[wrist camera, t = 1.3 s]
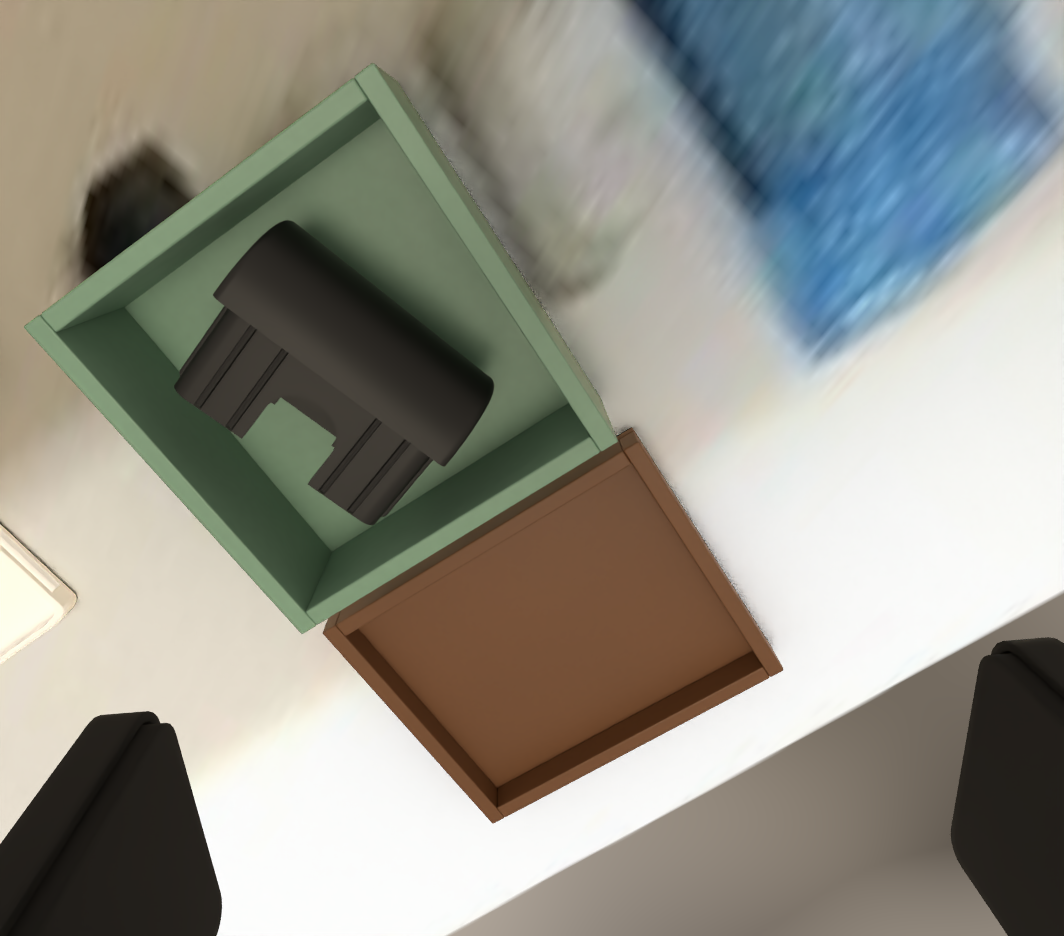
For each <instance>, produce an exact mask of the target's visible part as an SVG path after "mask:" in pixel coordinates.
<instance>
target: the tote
mask: <svg viewBox="0 0 1064 936" xmlns="http://www.w3.org/2000/svg"><path fill="white" fill-rule="evenodd" d="M285 220H289V221H293V222H295V223H296V224H298V225H299V226H300V227H301V228H303V229H304V230H305V231H306V232H308V233H309V234H310V235H311V236H313V237H314V238H315V239H316V240H318V241H319V242H320V243H322V244H323V245H324V246H325V247H327V248H328V249H329V250H330V251H332V252H333V253H334V254H335V255H337V256H338V257H339V258H340V259H342V260H343V261H344V262H345V263H347V264H348V265H349V266H351V267H352V268H353V269H354V270H356V271H357V272H358V273H359V274H361V275H362V276H363V277H364V278H366V279H367V280H368V281H369V282H371V283H372V284H373V285H375V286H376V287H377V288H378V289H380V290H381V291H382V292H383V293H385V294H386V295H387V296H388V297H390V298H391V299H392V300H393V301H395V302H396V303H397V304H398V305H400V306H401V307H402V308H404V309H405V310H406V311H407V312H409V313H410V314H411V315H412V316H414V317H415V318H416V319H417V320H419V321H420V322H421V323H422V324H424V325H425V326H426V327H427V328H429V329H430V330H431V331H433V332H434V333H435V334H436V335H438V336H439V337H440V338H441V339H443V340H444V341H445V342H446V343H448V344H449V345H450V346H451V347H453V348H454V349H455V350H456V351H458V352H459V353H460V354H462V355H463V356H464V357H465V358H467V359H468V360H469V361H470V362H472V363H473V364H474V365H475V366H477V367H478V368H479V369H480V370H482V371H483V372H484V373H485V374H487V375H488V376H489V377H491V378H492V380H493V382H494V391H493V395H492V397H491V400H490V402H489V404H488V406H487V408H486V410H485V411H484V413H483V415H482V416H481V418H480V420H479V421H478V423H477V424H476V426H475V427H474V429H473V430H472V432H471V433H470V435H469V436H468V438H467V439H466V440H465V442H464V443H463V445H462V446H461V447H460V448H459V450H458V451H457V452H456V454H455V455H454V456H453V457H452V459H451V460H450V461H449V462H448V464H447V465H446V466H445V467H444V466H441V465H439V464H438V463H436V462H435V461H434V460H433V461H432V462H431V463H430V464H429V466H428V467H427V468H426V469H425V470H424V472H423V473H422V474H421V475H420V476H419V477H418V479H417V480H416V481H415V482H414V483H413V485H412V486H411V487H410V488H409V489H408V491H407V492H406V493H405V494H404V495H403V497H402V498H401V499H400V500H399V501H398V502H397V504H396V505H395V506H394V507H393V508H392V510H391V511H390V512H389V513H388V514H387V515H386V516H385V517H380V519H379V520H378V521H377V522H376V523H375V525H367V524H365V523H363V522H361V521H360V520H358V519H357V518H355V517H354V516H352V515H351V514H349V513H348V512H347V511H345V510H344V509H342V508H341V507H339V506H338V505H337V504H335V503H334V502H332V501H331V500H329V499H328V498H326V497H325V496H324V495H322V494H321V493H319V492H318V491H316V490H315V489H313V488H312V487H311V486H309V485H308V483H309V481H310V479H311V478H312V477H313V476H314V474H315V473H316V472H317V471H318V469H319V468H320V467H321V466H322V464H323V463H324V462H325V461H326V459H327V458H328V457H329V455H330V454H331V453H332V451H333V449H334V447H333V446H331V445H332V444H333V442H334V441H335V440H336V437H335V436H334V435H332V434H331V433H330V432H328V431H327V430H325V429H324V428H323V427H321V426H320V425H318V424H317V423H316V422H314V421H313V420H312V419H310V418H309V417H307V416H306V415H305V414H303V413H302V412H300V411H299V410H298V409H296V408H295V407H293V406H292V405H291V404H289V403H288V402H287V401H285V400H284V399H282V398H280V399H279V400H278V401H277V403H276V404H275V405H274V404H273V403H270V404H268V405H267V407H266V408H265V409H264V411H263V412H262V413H261V415H260V416H259V417H258V419H257V420H256V421H255V423H254V424H253V425H252V427H251V428H250V429H249V431H248V432H247V433H246V435H245V436H244V437H243V438H242V439H241V438H240V437H238V436H237V435H236V434H234V433H233V432H231V431H230V430H228V429H227V428H225V427H224V426H223V425H221V424H220V423H218V422H217V421H215V420H214V419H213V418H211V417H210V416H208V415H207V414H205V413H204V412H202V411H201V410H200V409H198V408H197V407H195V406H194V405H192V404H191V403H189V402H188V401H187V400H185V399H184V398H182V397H181V396H180V395H179V394H178V393H177V392H176V390H175V388H174V385H175V383H176V382H177V381H178V379H179V378H180V373H179V372H180V369H181V368H182V366H183V365H184V364H185V362H186V361H187V359H188V358H189V356H190V355H191V353H192V352H193V351H194V349H195V348H196V346H197V345H198V343H199V342H200V340H201V339H202V338H203V336H204V335H205V333H206V332H207V330H208V329H209V327H210V326H211V325H212V323H213V322H214V320H215V319H216V317H217V316H218V315H219V313H220V312H221V310H222V309H223V307H224V305H223V304H222V303H220V302H219V301H218V300H216V299H215V298H214V296H213V293H214V292H215V291H216V289H217V288H218V286H219V285H220V284H221V282H222V281H223V280H224V278H225V277H226V276H227V274H228V273H229V272H230V271H231V269H232V268H233V267H234V266H235V264H236V263H237V262H238V261H239V260H240V259H241V257H242V256H243V255H244V254H245V253H246V252H247V251H248V250H249V248H250V247H251V246H252V245H253V244H254V243H255V242H256V241H257V240H258V239H259V238H260V237H261V236H262V235H263V234H265V233H266V232H267V231H268V230H269V229H270V228H272V227H273V226H275V225H276V224H278V223H280V222H282V221H285ZM24 328H25V329H26V330H27V331H28V333H29V334H30V335H31V336H32V337H33V338H34V339H35V340H36V341H37V342H38V344H39V345H40V346H41V347H42V348H43V349H44V350H45V351H46V352H47V354H48V355H49V356H50V357H51V358H52V359H53V360H54V361H55V362H56V363H57V365H58V366H59V367H60V368H61V369H62V370H63V371H64V372H65V373H66V374H67V376H68V377H69V378H70V379H71V380H72V381H73V382H74V383H75V384H76V386H77V387H78V388H79V389H80V390H81V391H82V392H83V393H84V394H85V395H86V397H87V398H88V399H89V400H90V401H91V402H92V403H93V404H94V405H95V407H96V408H97V409H98V410H99V411H100V412H101V413H102V414H103V415H104V416H105V418H106V419H107V420H108V421H109V422H110V423H111V424H112V425H113V426H114V427H115V429H116V430H117V431H118V432H119V433H120V434H121V435H122V436H123V437H124V439H125V440H126V441H127V442H128V443H129V444H130V445H131V446H132V447H133V448H134V450H135V451H136V452H137V453H138V454H139V455H140V456H141V457H142V458H143V459H144V461H145V462H146V463H147V464H148V465H149V466H150V467H151V468H152V469H153V471H154V472H155V473H156V474H157V475H158V476H159V477H160V478H161V479H162V480H163V482H164V483H165V484H166V485H167V486H168V487H169V488H170V489H171V490H172V491H173V493H174V494H175V495H176V496H177V497H178V498H179V499H180V500H181V501H182V503H183V504H184V505H185V506H186V507H187V508H188V509H189V510H190V511H191V512H192V514H193V515H194V516H195V517H196V518H197V519H198V520H199V521H200V522H201V523H202V525H203V526H204V527H205V528H206V529H207V530H208V531H209V532H210V533H211V535H212V536H213V537H214V538H215V539H216V540H217V541H218V542H219V543H220V544H221V546H222V547H223V548H224V549H225V550H226V551H227V552H228V553H229V554H230V555H231V557H232V558H233V559H234V560H235V561H236V562H237V563H238V564H239V565H240V567H241V568H242V569H243V570H244V571H245V572H246V573H247V574H248V575H249V576H250V578H251V579H252V580H253V581H254V582H255V583H256V584H257V585H258V586H259V587H260V589H261V590H262V591H263V592H264V593H265V594H266V595H267V596H268V597H269V599H270V600H271V601H272V602H273V603H274V604H275V605H276V606H277V607H278V608H279V610H280V611H281V612H282V613H283V614H284V615H285V616H286V617H287V618H288V619H289V621H290V622H291V623H292V624H293V625H294V626H295V627H296V628H297V629H298V631H299V632H300V633H301V634H303V633H305V632H307V631H308V630H310V629H311V628H313V627H315V626H316V625H317V624H319V623H321V622H323V621H324V620H326V619H328V618H329V617H331V616H332V615H334V614H336V613H337V612H339V611H341V610H342V609H344V608H346V607H347V606H349V605H351V604H352V603H354V602H355V601H357V600H359V599H360V598H362V597H364V596H365V595H367V594H369V593H370V592H372V591H373V590H375V589H377V588H378V587H380V586H382V585H383V584H385V583H387V582H388V581H390V580H392V579H393V578H395V577H396V576H398V575H400V574H401V573H403V572H405V571H406V570H408V569H410V568H411V567H413V566H414V565H416V564H418V563H419V562H421V561H423V560H424V559H426V558H428V557H429V556H431V555H433V554H434V553H436V552H437V551H439V550H441V549H442V548H444V547H446V546H447V545H449V544H451V543H452V542H454V541H455V540H457V539H459V538H460V537H462V536H464V535H465V534H467V533H469V532H470V531H472V530H474V529H475V528H477V527H478V526H480V525H482V524H483V523H485V522H487V521H488V520H490V519H492V518H493V517H495V516H496V515H498V514H500V513H501V512H503V511H505V510H506V509H508V508H510V507H511V506H513V505H515V504H516V503H518V502H519V501H521V500H523V499H524V498H526V497H528V496H529V495H531V494H533V493H534V492H536V491H537V490H539V489H541V488H542V487H544V486H546V485H547V484H549V483H551V482H552V481H554V480H556V479H557V478H559V477H560V476H562V475H564V474H565V473H567V472H569V471H570V470H572V469H574V468H575V467H577V466H578V465H580V464H582V463H583V462H585V461H587V460H588V459H590V458H592V457H593V456H595V455H597V454H598V453H599V452H600V451H604V450H605V449H607V448H608V447H610V446H612V445H613V444H615V443H617V442H618V439H617V437H616V435H615V432H614V430H613V427H612V425H611V422H610V420H609V418H608V415H607V413H606V410H605V408H604V405H603V403H602V400H601V398H600V397H599V395H598V394H597V392H596V390H595V389H594V387H593V386H592V384H591V383H590V381H589V380H588V378H587V376H586V375H585V373H584V372H583V370H582V369H581V367H580V366H579V364H578V362H577V361H576V359H575V358H574V356H573V355H572V353H571V352H570V350H569V348H568V347H567V345H566V344H565V342H564V341H563V339H562V337H561V336H560V334H559V333H558V331H557V330H556V328H555V327H554V325H553V323H552V322H551V320H550V319H549V317H548V316H547V314H546V313H545V311H544V309H543V308H542V306H541V305H540V303H539V302H538V300H537V299H536V297H535V295H534V294H533V292H532V291H531V289H530V288H529V286H528V284H527V283H526V281H525V280H524V278H523V277H522V275H521V274H520V272H519V270H518V269H517V267H516V266H515V264H514V263H513V261H512V260H511V258H510V256H509V255H508V253H507V252H506V250H505V249H504V247H503V246H502V244H501V242H500V241H499V239H498V238H497V236H496V235H495V233H494V231H493V230H492V228H491V227H490V225H489V224H488V222H487V221H486V219H485V217H484V216H483V214H482V213H481V211H480V210H479V208H478V207H477V205H476V203H475V202H474V200H473V199H472V197H471V196H470V194H469V193H468V191H467V189H466V188H465V186H464V185H463V183H462V182H461V180H460V178H459V177H458V175H457V174H456V172H455V171H454V169H453V168H452V166H451V164H450V163H449V161H448V160H447V158H446V157H445V155H444V154H443V152H442V150H441V149H440V147H439V146H438V144H437V143H436V141H435V140H434V138H433V136H432V135H431V133H430V132H429V130H428V129H427V127H426V125H425V124H424V122H423V121H422V119H421V118H420V116H419V115H418V113H417V111H416V110H415V108H414V107H413V105H412V104H411V102H410V101H409V99H408V97H407V96H406V94H405V93H404V91H403V90H402V88H401V87H400V85H399V83H398V82H397V81H396V80H395V79H393V78H392V77H391V76H389V75H388V74H387V73H386V72H384V71H383V70H382V69H380V68H379V67H378V66H377V65H375V64H374V63H371V64H370V65H369V66H367V67H366V68H365V69H364V70H362V71H361V72H360V73H358V74H357V75H356V76H355V79H354V78H353V79H351V80H349V81H348V82H347V83H345V84H344V85H343V86H341V87H340V88H339V89H337V90H336V91H335V92H333V93H332V94H331V95H329V96H328V97H327V98H325V99H324V100H323V101H322V102H320V103H319V104H318V105H316V106H315V107H314V108H312V109H311V110H310V111H308V112H307V113H306V114H304V115H303V116H302V117H300V118H299V119H298V120H296V121H295V122H294V123H292V124H291V125H290V126H288V127H287V128H286V129H284V130H283V131H282V132H281V133H279V134H278V135H277V136H275V137H274V138H273V139H271V140H270V141H269V142H267V143H266V144H265V145H263V146H262V147H261V148H259V149H258V150H257V151H255V152H254V153H253V154H251V155H250V156H249V157H247V158H246V159H245V160H243V161H242V162H241V163H240V164H238V165H237V166H236V167H234V168H233V169H232V170H230V171H229V172H228V173H226V174H225V175H224V176H222V177H221V178H220V179H218V180H217V181H216V182H214V183H213V184H212V185H210V186H209V187H208V188H206V189H205V190H204V191H202V192H201V193H200V194H199V195H197V196H196V197H195V198H193V199H192V200H191V201H189V202H188V203H187V204H185V205H184V206H183V207H181V208H180V209H179V210H177V211H176V212H175V213H173V214H172V215H171V216H169V217H168V218H167V219H165V220H164V221H163V222H161V223H160V224H159V225H158V226H156V227H155V228H154V229H152V230H151V231H150V232H148V233H147V234H146V235H144V236H143V237H142V238H140V239H139V240H138V241H136V242H135V243H134V244H132V245H131V246H130V247H128V248H127V249H126V250H124V251H123V252H122V253H120V254H119V255H118V256H117V257H115V258H114V259H113V260H111V261H110V262H109V263H107V264H106V265H105V266H103V267H102V268H101V269H99V270H98V271H97V272H95V273H94V274H93V275H91V276H90V277H89V278H87V279H86V280H85V281H83V282H82V283H81V284H79V285H78V286H77V287H76V288H74V289H73V290H72V291H70V292H69V293H68V294H66V295H65V296H64V297H62V298H61V299H60V300H58V301H57V302H56V303H54V304H53V305H52V306H50V307H49V308H48V309H46V310H45V311H44V312H42V314H41V315H38V316H37V317H36V318H34V319H33V320H32V321H30V322H29V323H28V324H26V325H25V326H24Z"/></svg>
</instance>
